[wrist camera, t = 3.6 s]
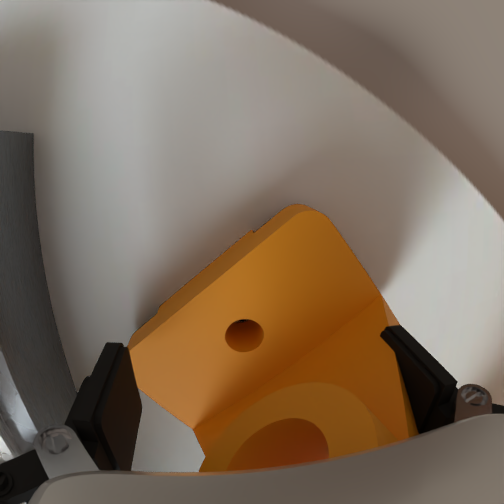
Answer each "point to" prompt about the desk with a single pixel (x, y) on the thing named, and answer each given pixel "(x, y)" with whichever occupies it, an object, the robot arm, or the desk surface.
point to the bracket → (277, 351)
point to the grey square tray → (26, 312)
